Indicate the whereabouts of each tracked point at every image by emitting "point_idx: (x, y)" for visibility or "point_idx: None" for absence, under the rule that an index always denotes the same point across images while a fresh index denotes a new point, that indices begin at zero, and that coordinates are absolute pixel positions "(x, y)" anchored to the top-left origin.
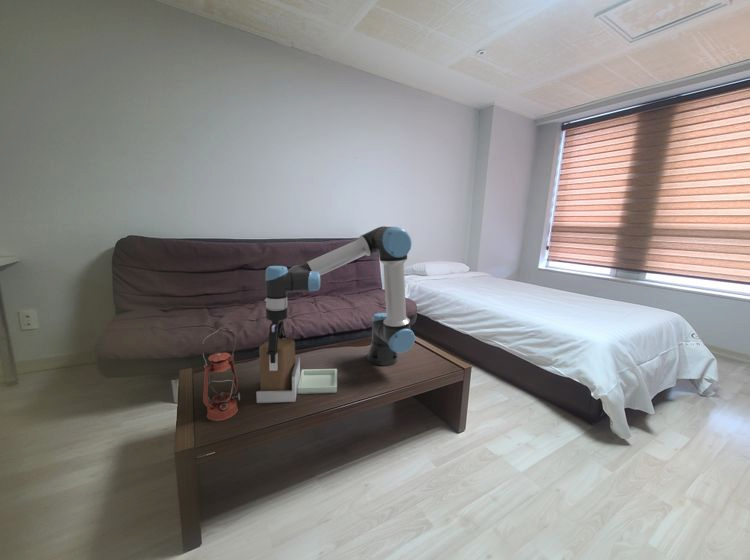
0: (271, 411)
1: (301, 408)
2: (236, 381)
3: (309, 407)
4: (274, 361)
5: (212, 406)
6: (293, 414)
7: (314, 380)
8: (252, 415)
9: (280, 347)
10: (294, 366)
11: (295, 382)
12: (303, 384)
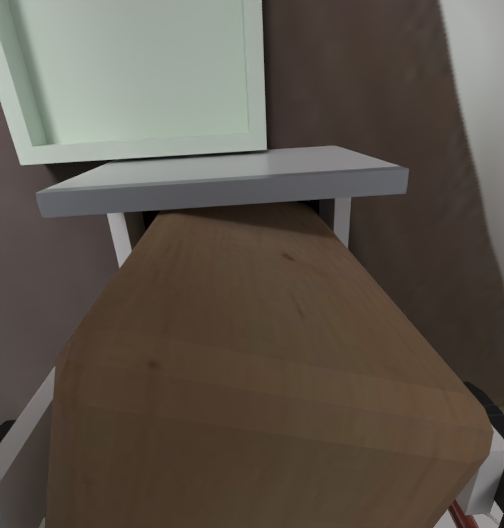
0: (398, 238)
1: (400, 96)
2: None
3: (399, 49)
4: (487, 396)
5: None
6: (442, 131)
7: (111, 54)
8: (411, 300)
9: (442, 484)
10: (255, 202)
11: (337, 159)
12: (171, 126)
